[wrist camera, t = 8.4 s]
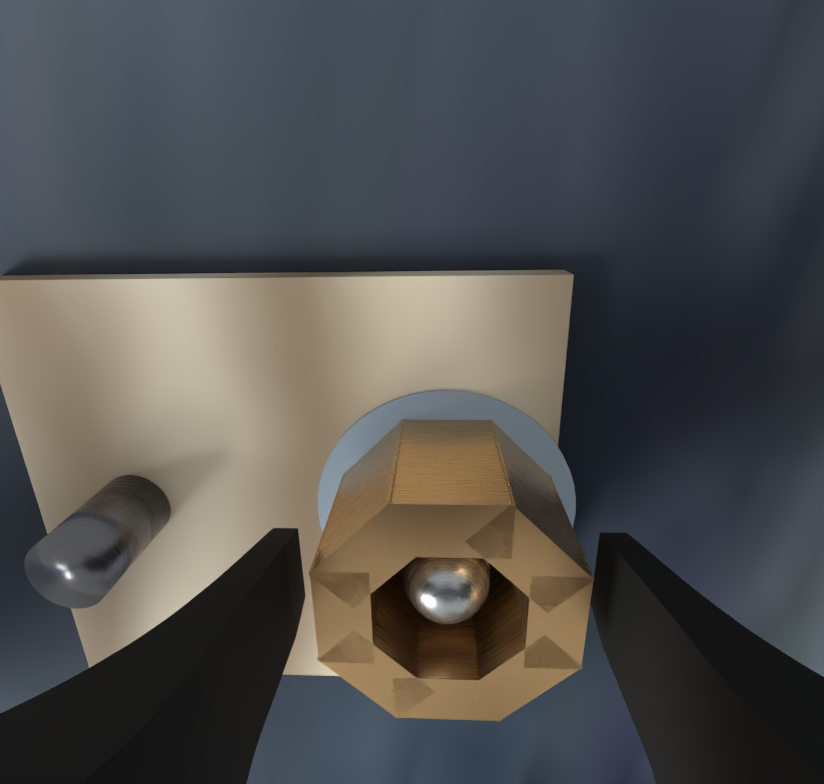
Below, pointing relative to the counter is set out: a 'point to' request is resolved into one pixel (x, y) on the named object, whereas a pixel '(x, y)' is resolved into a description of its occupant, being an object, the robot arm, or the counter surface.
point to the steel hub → (447, 587)
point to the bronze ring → (450, 538)
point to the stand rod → (97, 542)
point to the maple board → (247, 400)
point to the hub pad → (444, 408)
